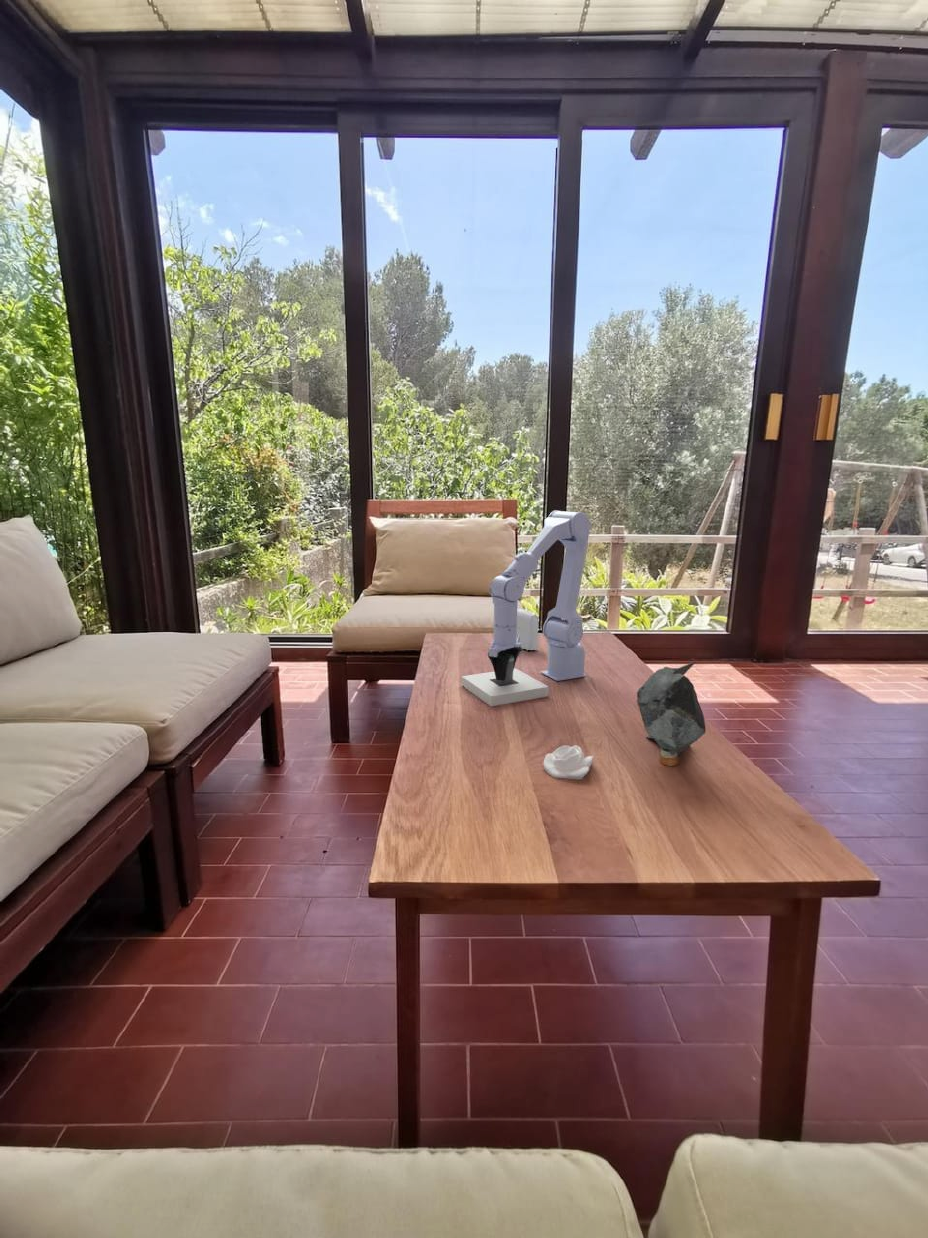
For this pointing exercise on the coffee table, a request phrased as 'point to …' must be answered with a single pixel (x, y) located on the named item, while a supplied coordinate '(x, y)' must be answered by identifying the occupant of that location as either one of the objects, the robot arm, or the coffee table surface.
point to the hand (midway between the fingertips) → (504, 677)
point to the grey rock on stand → (671, 712)
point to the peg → (507, 673)
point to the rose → (567, 763)
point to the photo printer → (527, 629)
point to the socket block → (504, 688)
